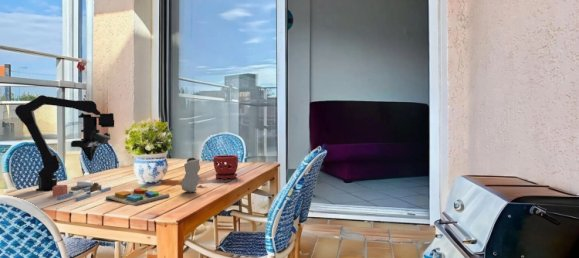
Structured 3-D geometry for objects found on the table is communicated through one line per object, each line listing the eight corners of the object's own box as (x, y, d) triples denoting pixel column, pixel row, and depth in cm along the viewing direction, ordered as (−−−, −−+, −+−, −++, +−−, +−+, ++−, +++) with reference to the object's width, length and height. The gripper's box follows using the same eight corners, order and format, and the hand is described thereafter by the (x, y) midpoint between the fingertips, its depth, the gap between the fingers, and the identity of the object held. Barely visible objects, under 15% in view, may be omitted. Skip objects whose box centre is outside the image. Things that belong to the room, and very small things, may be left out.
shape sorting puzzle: (136, 207, 142) (135, 198, 142) (104, 200, 151) (104, 192, 151) (171, 198, 157) (171, 189, 157) (140, 192, 166) (140, 185, 166)
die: (52, 196, 156) (52, 186, 155) (57, 194, 159) (57, 184, 159) (62, 196, 156) (62, 186, 156) (67, 194, 160) (67, 184, 160)
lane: (57, 199, 150) (56, 195, 150) (91, 188, 170) (91, 185, 170) (78, 200, 148) (78, 196, 148) (110, 189, 169) (110, 186, 169)
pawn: (87, 192, 164) (87, 183, 164) (94, 190, 168) (94, 181, 168) (96, 192, 163) (96, 183, 163) (103, 190, 168) (103, 181, 167)
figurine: (204, 190, 170) (205, 157, 169) (190, 195, 161) (190, 160, 160) (189, 188, 173) (189, 156, 173) (174, 193, 164) (174, 158, 164)
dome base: (71, 189, 169) (70, 187, 169) (83, 185, 177) (82, 183, 177) (87, 190, 168) (87, 188, 168) (98, 186, 176) (98, 184, 176)
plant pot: (241, 176, 208) (241, 154, 207) (232, 180, 195) (232, 157, 194) (219, 175, 211) (219, 153, 210) (209, 179, 198) (209, 156, 197)
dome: (73, 187, 170) (73, 182, 170) (83, 184, 176) (83, 180, 176) (86, 188, 169) (86, 183, 169) (96, 185, 175) (95, 180, 175)
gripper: (92, 128, 165) (93, 164, 166) (117, 127, 183) (118, 158, 184) (69, 128, 166) (70, 163, 167) (96, 126, 185) (97, 158, 186)
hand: (90, 160), depth 176 cm, fingers closed
